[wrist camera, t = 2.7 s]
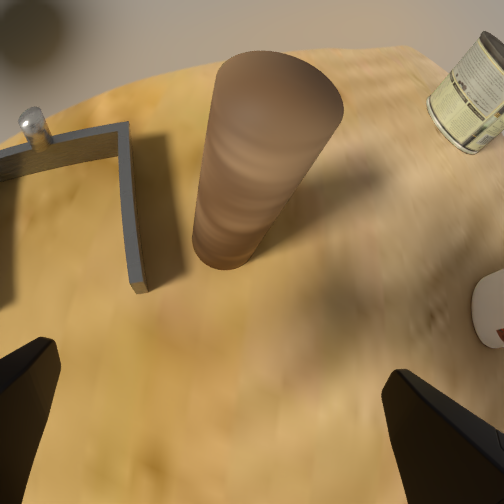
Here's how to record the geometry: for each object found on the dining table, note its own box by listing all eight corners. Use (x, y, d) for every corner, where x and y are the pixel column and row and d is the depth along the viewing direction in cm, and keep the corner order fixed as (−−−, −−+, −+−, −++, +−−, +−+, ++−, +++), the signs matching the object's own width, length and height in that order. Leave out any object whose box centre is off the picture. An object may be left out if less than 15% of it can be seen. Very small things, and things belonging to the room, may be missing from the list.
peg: (266, 237, 23) (362, 100, 10) (228, 283, 22) (303, 165, 9) (219, 199, 24) (266, 38, 11) (178, 242, 22) (186, 84, 9)
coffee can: (437, 88, 38) (489, 28, 24) (484, 139, 36) (542, 87, 23) (414, 106, 34) (477, 32, 21) (469, 167, 33) (543, 106, 20)
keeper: (148, 292, 20) (136, 266, 15) (-20, 317, 17) (-68, 301, 11) (131, 140, 24) (125, 87, 18) (-12, 173, 20) (-42, 132, 14)
